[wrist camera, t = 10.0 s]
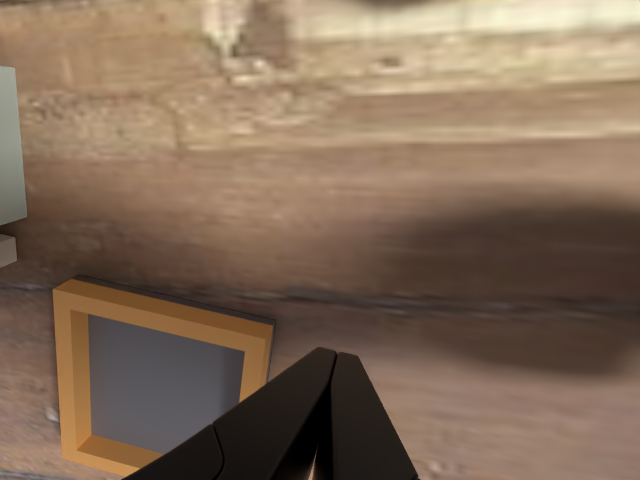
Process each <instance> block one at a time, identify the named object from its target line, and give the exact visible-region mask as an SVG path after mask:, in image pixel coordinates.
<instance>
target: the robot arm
mask: <svg viewBox="0 0 640 480" xmlns="http://www.w3.org/2000/svg"><path fill="white" fill-rule="evenodd" d="M317 447H318V448H317ZM316 451H317V453H316ZM315 455H316V458H315ZM314 459H315V463H314ZM313 463H314V471H313V479H312V480H420V479H419V478H418V474H417V472H416V470H415V468H414V466H413V464H412V462H411V460H410V458H409V456H408V454H407V452H406V450H405V448H404V446H403V444H402V442H401V440H400V438H399V436H398V434H397V432H396V430H395V428H394V426H393V424H392V423H391V421H390V419H389V417H388V415H387V413H386V411H385V409H384V407H383V405H382V403H381V401H380V399H379V397H378V395H377V393H376V391H375V389H374V387H373V385H372V383H371V381H370V379H369V377H368V375H367V373H366V371H365V369H364V367H363V365H362V363H361V361H360V359H359V357H358V356H356V355H352V354H348V353H344V352H339V353H338V354H337V352H336V351H334V350H331V349H327V348H322V347H317V348H315V349H314V350H313V351H311V352H310V353H308V354H307V355H306V356H304V357H303V358H301V359H300V360H299V361H297V362H296V363H294V364H293V365H292V366H290V367H289V368H287V369H286V370H285V371H283V372H282V373H280V374H279V375H278V376H276V377H275V378H273V379H272V380H271V381H269V382H268V383H266V384H265V385H264V386H262V387H261V388H259V389H258V390H257V391H255V392H254V393H252V394H251V395H250V396H248V397H247V398H245V399H244V400H243V401H241V402H240V403H238V404H237V405H236V406H234V407H233V408H231V409H230V410H229V411H227V412H226V413H224V414H223V415H222V416H220V417H219V418H217V419H216V420H215V421H213V422H212V424H209V425H207V426H206V427H205V428H203V429H202V430H200V431H199V432H198V433H196V434H195V435H193V436H192V437H190V438H189V439H187V440H186V441H184V442H183V443H181V444H180V445H178V446H177V447H175V448H174V449H172V450H171V451H169V452H168V453H166V454H164V455H163V456H161V457H159V458H158V459H156V460H154V461H153V462H151V463H149V464H147V465H146V466H144V467H142V468H141V469H139V470H137V471H136V472H134V473H132V474H130V475H128V476H127V477H125V478H123V479H121V480H308V479H309V476H310V473H311V470H312V466H313Z"/></svg>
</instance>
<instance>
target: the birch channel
mask: <svg viewBox="0 0 640 480" xmlns="http://www.w3.org/2000/svg"><path fill="white" fill-rule="evenodd" d="M15 261H17V252H16V240H15V237H12V236H8V235H3V234H0V268H1V267H4V266H6V265H8V264H11V263H13V262H15Z"/></svg>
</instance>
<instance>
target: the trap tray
mask: <svg viewBox="0 0 640 480" xmlns="http://www.w3.org/2000/svg"><path fill="white" fill-rule="evenodd" d="M53 305H54V322H55V339H56V356H57V374H58V391H59V408H60V425H61V443H62V459H65V460H69V461H72V462H76V463H79V464H83V465H86V466H90V467H93V468H97V469H100V470H104V471H107V472H111V473H114V474H118V475H121V476H125V477H127V476H128V475H130V474H132V473H134V472H136V471H137V470H139V469H141V468H142V467H144V466H146V465H147V464H149V463H151V462H153V461H154V460H156V459H158V458H159V457H161V456H163V455H164V454H166V453H168V452H169V451H171V450H172V449H174V448H175V447H177V446H178V445H180V444H181V443H183V442H184V441H186V440H187V439H189V438H190V437H192V436H193V435H195V434H196V433H198V432H199V431H200V430H202V429H203V428H205V427H206V426H207V425H209V424H212V422H213V421H215V420H216V419H217V418H219V417H220V416H222V415H223V414H224V413H226V412H227V411H229V410H230V409H231V408H233V407H234V406H236V405H237V404H238V403H240V402H241V401H243V400H244V399H245V398H247V397H248V396H250V395H251V394H252V393H254V392H255V391H257V390H258V389H259V388H261V387H262V386H264V385H265V384H266V383H268V376H269V369H270V362H271V354H272V347H273V340H274V333H275V325H276V320H272V319H268V318H263V317H259V316H255V315H250V314H246V313H242V312H237V311H233V310H229V309H224V308H220V307H216V306H211V305H207V304H203V303H198V302H194V301H190V300H185V299H181V298H177V297H172V296H168V295H164V294H159V293H155V292H151V291H146V290H142V289H138V288H133V287H129V286H124V285H120V284H116V283H111V282H107V281H103V280H98V279H94V278H90V277H85V276H81V275H77V276H76V277H74V278H72V279H70V280H68V281H66V282H64V283H63V284H61V285H59V286H57V287H55V288H53Z"/></svg>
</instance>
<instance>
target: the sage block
mask: <svg viewBox="0 0 640 480" xmlns="http://www.w3.org/2000/svg"><path fill="white" fill-rule="evenodd" d="M26 217H27V205H26V193H25V182H24V170H23V159H22V147H21V135H20V124H19V112H18V100H17V89H16V77H15V68H14V67H7V66H1V65H0V225H4V224H7V223H10V222H13V221H16V220H20V219H23V218H26Z"/></svg>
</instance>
